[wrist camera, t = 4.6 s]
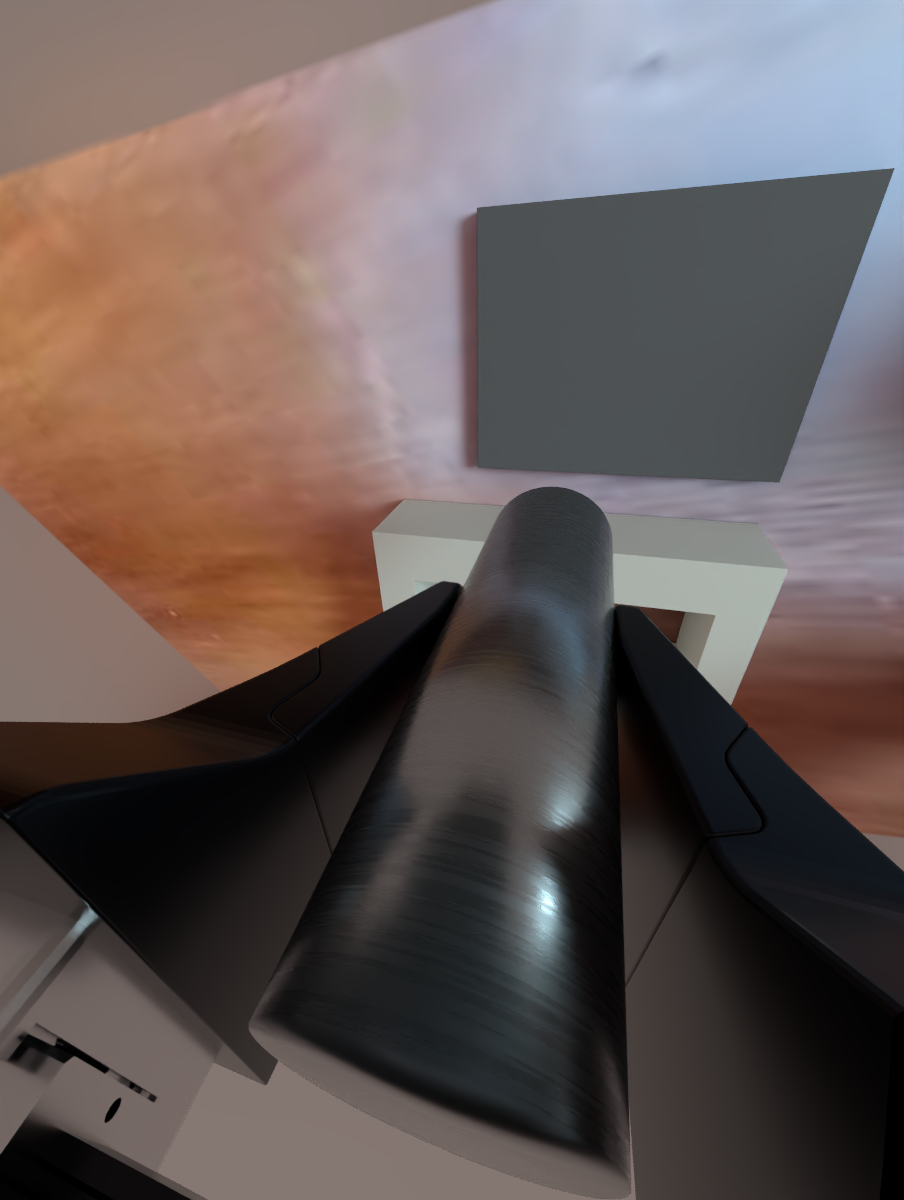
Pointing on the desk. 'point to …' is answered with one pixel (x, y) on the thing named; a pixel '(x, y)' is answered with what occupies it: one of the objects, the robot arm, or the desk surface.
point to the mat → (663, 324)
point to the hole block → (615, 573)
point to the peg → (485, 882)
